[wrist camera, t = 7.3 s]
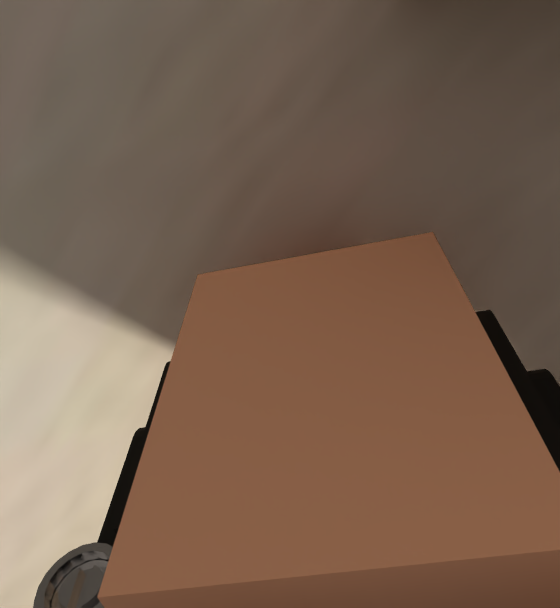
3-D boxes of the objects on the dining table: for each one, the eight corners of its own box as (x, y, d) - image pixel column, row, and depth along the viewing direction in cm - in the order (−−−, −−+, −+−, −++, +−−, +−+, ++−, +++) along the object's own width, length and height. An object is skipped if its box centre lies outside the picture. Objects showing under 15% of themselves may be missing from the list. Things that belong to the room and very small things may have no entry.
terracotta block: (433, 231, 11) (599, 546, 5) (445, 410, 13) (563, 757, 8) (197, 274, 12) (97, 597, 6) (252, 437, 14) (222, 776, 8)
